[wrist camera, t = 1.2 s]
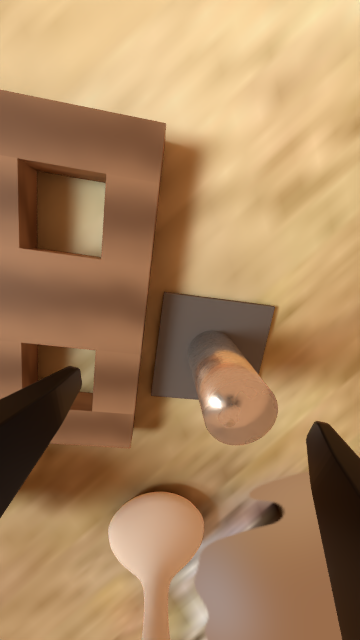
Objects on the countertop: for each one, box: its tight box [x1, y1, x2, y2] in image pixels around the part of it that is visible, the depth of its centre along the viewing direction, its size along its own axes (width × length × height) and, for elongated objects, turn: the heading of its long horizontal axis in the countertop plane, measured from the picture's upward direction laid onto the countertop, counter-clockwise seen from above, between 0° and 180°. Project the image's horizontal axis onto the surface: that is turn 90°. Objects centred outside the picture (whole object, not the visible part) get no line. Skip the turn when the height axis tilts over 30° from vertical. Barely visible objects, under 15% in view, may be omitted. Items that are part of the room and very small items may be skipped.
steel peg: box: [188, 330, 278, 445], centre depth 21 cm, size 5×5×10 cm
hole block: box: [0, 90, 166, 448], centre depth 22 cm, size 28×14×3 cm, turn 172°
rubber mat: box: [151, 292, 275, 400], centre depth 26 cm, size 11×11×1 cm
